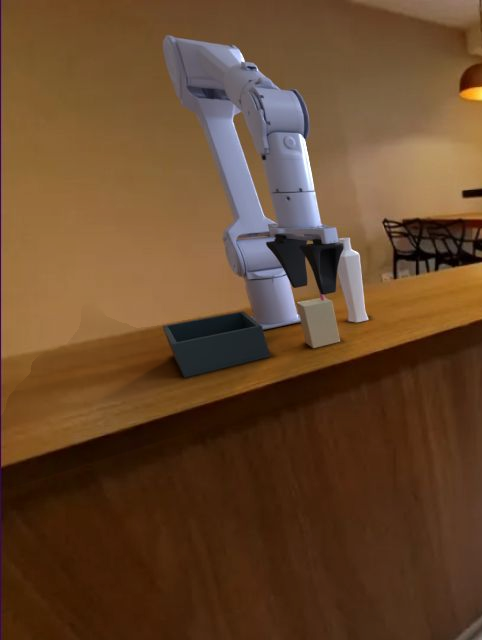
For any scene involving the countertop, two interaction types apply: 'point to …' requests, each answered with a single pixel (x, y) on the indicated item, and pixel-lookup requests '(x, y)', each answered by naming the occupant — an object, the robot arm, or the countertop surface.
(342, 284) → the perfume bottle
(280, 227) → the robot arm
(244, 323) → the bin
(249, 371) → the countertop surface
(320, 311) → the juice carton
